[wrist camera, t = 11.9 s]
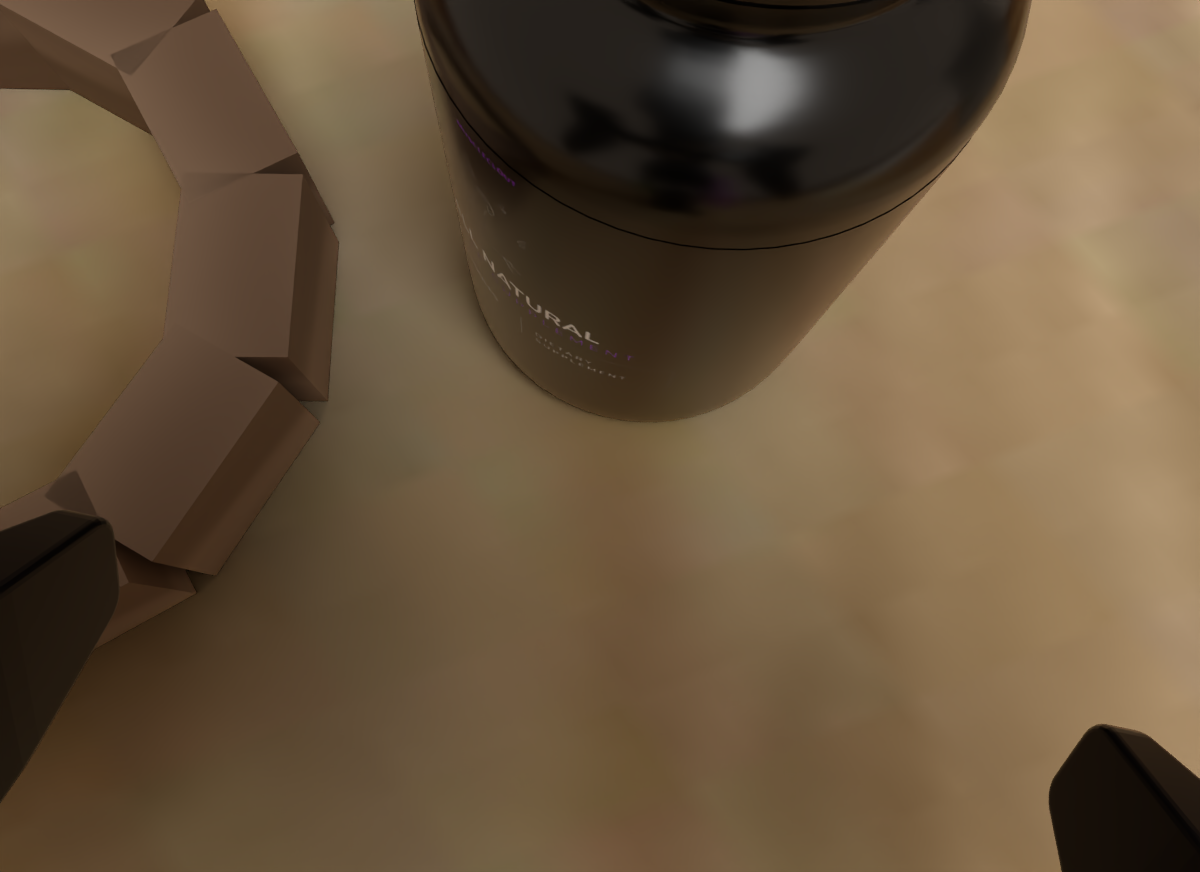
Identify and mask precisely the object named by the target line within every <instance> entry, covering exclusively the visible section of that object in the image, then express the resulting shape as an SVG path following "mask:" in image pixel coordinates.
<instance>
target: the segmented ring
mask: <svg viewBox="0 0 1200 872" xmlns="http://www.w3.org/2000/svg"><path fill="white" fill-rule="evenodd" d="M0 88H29V89H70V90H72V91H74V92H75V93H77V94H79V95H81V96H83V97H85V98H86V99H88V100H90V101H92V102H94V103H95V104H97V105H99V106H101V107H103V108H104V109H106V110H108V111H110V112H112V113H113V114H115V115H117V116H119V117H121V118H122V119H124V120H126V121H128V122H130V123H131V124H133V125H135V126H137V127H139V128H141V129H142V130H144V131H146V132H148V133H150V134H151V135H153V137H154V139H155V140H156V142H157V144H158V146H159V148H160V150H161V152H162V154H163V156H164V157H165V159H166V161H167V163H168V165H169V167H170V169H171V171H172V173H173V174H174V176H175V178H176V180H177V182H178V184H179V186H180V188H181V194H180V202H179V210H178V219H177V227H176V235H175V244H174V252H173V260H172V269H171V277H170V285H169V293H168V302H167V310H166V318H165V327H164V335H163V339H162V340H161V342H160V343H159V344H158V346H157V347H156V348H155V350H154V351H153V352H152V354H151V355H150V356H149V358H148V359H147V360H146V362H145V363H144V364H143V365H142V367H141V368H140V369H139V371H138V372H137V373H136V375H135V376H134V377H133V379H132V380H131V381H130V383H129V384H128V385H127V387H126V388H125V389H124V391H123V392H122V393H121V395H120V396H119V397H118V399H117V400H116V401H115V403H114V404H113V405H112V407H111V408H110V409H109V411H108V412H107V413H106V415H105V416H104V417H103V419H102V420H101V421H100V423H99V424H98V425H97V427H96V428H95V429H94V431H93V432H92V433H91V435H90V436H89V437H88V439H87V440H86V441H85V443H84V444H83V445H82V447H81V448H80V449H79V451H78V452H77V453H76V455H75V456H74V457H73V459H72V460H71V461H70V463H69V464H68V465H67V467H66V468H65V469H64V471H63V472H62V473H61V474H60V476H59V477H58V478H57V480H55V481H53V482H51V483H49V484H47V485H45V486H43V487H41V488H39V489H37V490H35V491H33V492H31V493H29V494H27V495H25V496H23V497H21V498H19V499H17V500H15V501H13V502H11V503H10V504H8V505H6V506H4V507H2V508H0V531H1V530H4V529H6V528H9V527H12V526H14V525H17V524H20V523H23V522H25V521H28V520H31V519H33V518H36V517H39V516H41V515H44V514H47V513H49V512H53V511H56V510H71V511H75V512H80V513H85V514H90V515H95V516H100V517H103V518H104V519H106V520H108V521H109V522H110V524H111V526H112V527H113V531H114V536H115V546H116V555H117V565H118V574H119V583H120V594H119V600H118V604H117V607H116V610H115V612H114V615H113V616H112V618H111V620H110V622H109V624H108V625H107V627H106V629H105V631H104V632H103V634H102V636H101V638H100V639H99V641H98V643H97V645H96V646H95V648H94V649H96V648H98V647H99V646H101V645H103V644H105V643H107V642H109V641H110V640H112V639H114V638H116V637H118V636H120V635H121V634H123V633H125V632H127V631H129V630H130V629H132V628H134V627H136V626H138V625H140V624H141V623H143V622H145V621H147V620H149V619H151V618H152V617H154V616H156V615H158V614H160V613H162V612H163V611H165V610H167V609H169V608H171V607H172V606H174V605H176V604H178V603H180V602H182V601H183V600H185V599H187V598H189V597H191V596H193V595H194V594H196V591H195V589H194V587H193V585H192V583H191V581H190V579H189V577H188V574H187V572H186V570H185V569H188V570H192V571H197V572H201V573H206V574H210V575H215V576H216V575H217V573H218V572H219V570H220V569H221V568H222V566H223V565H224V563H225V562H226V560H227V559H228V557H229V556H230V554H231V553H232V551H233V550H234V548H235V547H236V545H237V544H238V543H239V541H240V540H241V538H242V537H243V535H244V534H245V532H246V531H247V529H248V528H249V526H250V525H251V523H252V522H253V520H254V519H255V517H256V516H257V515H258V513H259V512H260V510H261V509H262V507H263V506H264V504H265V503H266V501H267V500H268V498H269V497H270V495H271V494H272V492H273V491H274V490H275V488H276V487H277V485H278V484H279V482H280V481H281V479H282V478H283V476H284V475H285V473H286V472H287V470H288V469H289V467H290V466H291V464H292V463H293V462H294V460H295V459H296V457H297V456H298V454H299V453H300V451H301V450H302V448H303V447H304V445H305V444H306V442H307V441H308V439H309V438H310V437H311V435H312V434H313V432H314V431H315V429H316V428H317V426H318V425H319V423H320V422H319V421H318V420H317V419H316V418H315V417H314V416H313V415H312V414H311V413H310V412H309V411H308V410H307V409H306V408H305V407H304V406H303V405H302V404H301V403H300V402H299V401H328V389H329V375H330V361H331V346H332V332H333V318H334V303H335V289H336V274H337V260H338V246H339V242H338V240H337V238H336V236H335V234H334V232H333V230H332V228H331V227H330V225H331V224H333V223H334V221H333V219H332V217H331V215H330V213H329V211H328V210H327V208H326V206H325V204H324V202H323V200H322V198H321V196H320V194H319V192H318V190H317V188H316V186H315V184H314V182H313V181H312V179H311V177H310V175H309V173H308V171H307V169H306V167H305V165H304V163H303V161H302V159H301V157H300V155H299V153H298V152H297V150H296V148H295V146H294V145H293V143H292V141H291V139H290V138H289V136H288V134H287V132H286V131H285V129H284V127H283V125H282V123H281V122H280V120H279V118H278V116H277V115H276V113H275V111H274V109H273V108H272V106H271V104H270V102H269V101H268V99H267V97H266V95H265V94H264V92H263V90H262V88H261V87H260V85H259V83H258V81H257V80H256V78H255V76H254V74H253V73H252V71H251V69H250V67H249V65H248V64H247V62H246V60H245V58H244V57H243V55H242V53H241V51H240V50H239V48H238V46H237V44H236V43H235V41H234V39H233V37H232V36H231V34H230V32H229V30H228V29H227V27H226V25H225V23H224V22H223V20H222V18H221V16H220V14H219V13H218V11H217V9H215V10H213V11H211V12H210V10H209V9H208V7H207V5H206V3H205V1H204V0H0Z"/></svg>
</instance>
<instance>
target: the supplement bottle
mask: <svg viewBox="0 0 1200 872" xmlns="http://www.w3.org/2000/svg"><path fill="white" fill-rule="evenodd" d="M1031 1H1032V0H414V3H415V9H416V14H417V20H418V25H419V31H420V36H421V41H422V46H423V51H424V55H425V60H426V65H427V70H428V75H429V79H430V84H431V89H432V94H433V99H434V103H435V108H436V113H437V118H438V123H439V127H440V132H441V137H442V142H443V147H444V151H445V156H446V161H447V166H448V170H449V175H450V180H451V185H452V190H453V194H454V199H455V204H456V209H457V214H458V218H459V223H460V228H461V233H462V237H463V242H464V247H465V252H466V257H467V261H468V266H469V270H470V273H471V278H472V282H473V286H474V289H475V293H476V296H477V300H478V303H479V305H480V308H481V310H482V313H483V315H484V317H485V320H486V322H487V324H488V326H489V328H490V329H491V331H492V333H493V335H494V337H495V338H496V340H497V341H498V343H499V344H500V346H501V347H502V349H503V350H504V352H505V353H506V354H507V355H508V356H509V358H510V359H511V360H512V361H513V362H514V364H515V365H516V366H517V367H518V368H519V369H520V370H522V371H523V372H524V373H525V374H526V375H527V376H528V377H529V378H530V379H531V380H533V381H534V382H535V383H536V384H538V385H539V386H540V387H542V388H543V389H545V390H546V391H548V392H549V393H551V394H552V395H554V396H555V397H557V398H559V399H561V400H563V401H565V402H567V403H569V404H570V405H573V406H575V407H578V408H580V409H583V410H585V411H588V412H591V413H594V414H597V415H601V416H604V417H609V418H614V419H619V420H626V421H636V422H662V421H673V420H679V419H684V418H690V417H694V416H697V415H701V414H704V413H707V412H710V411H712V410H715V409H717V408H720V407H722V406H724V405H726V404H728V403H730V402H732V401H734V400H736V399H738V398H739V397H741V396H742V395H744V394H745V393H747V392H748V391H750V390H751V389H753V388H754V387H755V386H757V385H758V384H759V383H760V382H762V381H763V380H764V379H765V378H766V377H768V376H769V375H770V374H771V373H772V372H773V371H774V370H775V369H776V368H777V367H778V366H779V365H780V364H781V362H782V361H783V360H784V359H785V358H786V357H787V356H788V355H789V354H790V353H791V352H792V351H793V350H794V348H795V347H796V346H797V345H798V344H799V343H800V341H801V340H802V339H803V338H804V337H805V335H806V334H807V333H808V332H809V331H810V330H811V328H812V327H813V326H814V325H815V324H816V323H817V321H818V320H819V319H820V318H821V317H822V315H823V314H824V313H825V312H826V311H827V310H828V308H829V307H830V306H831V305H832V304H833V303H834V301H835V300H836V299H837V298H838V297H839V295H840V294H841V293H842V292H843V291H844V290H845V288H846V287H847V286H848V285H849V284H850V283H851V281H852V280H853V279H854V278H855V277H856V275H857V274H858V273H859V272H860V271H861V270H862V268H863V267H864V266H865V265H866V264H867V263H868V261H869V260H870V259H871V258H872V257H873V255H874V254H875V253H876V252H877V251H878V250H879V248H880V247H881V246H882V245H883V244H884V242H885V241H886V240H887V239H888V238H889V237H890V235H891V234H892V233H893V232H894V231H895V230H896V228H897V227H898V226H899V225H900V224H901V222H902V221H903V220H904V219H905V218H906V217H907V215H908V214H909V213H910V212H911V211H912V210H913V208H914V207H915V206H916V205H917V204H918V202H919V201H920V200H921V199H922V198H923V197H924V195H925V194H926V193H927V192H928V191H929V189H930V188H931V187H932V186H933V185H934V184H935V182H936V181H937V180H938V179H939V178H940V176H941V175H942V174H943V173H944V172H945V171H946V169H947V168H948V167H949V166H950V164H951V163H952V162H953V161H954V159H955V158H956V157H957V156H958V155H959V153H960V152H961V151H962V150H963V148H964V147H965V146H966V145H967V143H968V142H969V141H970V139H971V137H972V136H973V135H974V133H975V132H976V131H977V130H978V128H979V127H980V126H981V124H982V123H983V121H984V120H985V118H986V117H987V116H988V114H989V112H990V111H991V109H992V108H993V106H994V104H995V103H996V101H997V100H998V98H999V96H1000V95H1001V93H1002V91H1003V89H1004V87H1005V85H1006V83H1007V81H1008V78H1009V76H1010V74H1011V72H1012V70H1013V68H1014V65H1015V63H1016V60H1017V57H1018V54H1019V51H1020V48H1021V45H1022V42H1023V39H1024V36H1025V31H1026V26H1027V21H1028V17H1029V12H1030V7H1031Z"/></svg>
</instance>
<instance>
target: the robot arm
mask: <svg viewBox="0 0 1200 872" xmlns="http://www.w3.org/2000/svg"><path fill="white" fill-rule="evenodd" d="M119 594H120V583H119V574H118V565H117V555H116V546H115V536H114V531H113V527H112V526H111V524H110V522H109V521H108V520H106V519H104V518H103V517H100V516H95V515H90V514H85V513H80V512H75V511H71V510H56V511H53V512H49V513H47V514H44V515H41V516H39V517H36V518H33V519H31V520H28V521H25V522H23V523H20V524H17V525H14V526H12V527H9V528H6V529H4V530H1V531H0V803H1V801H2V800H3V799H4V797H5V796H6V794H7V793H8V791H9V790H10V788H11V787H12V786H13V784H14V783H15V781H16V780H17V778H18V777H19V775H20V774H21V772H22V771H23V770H24V768H25V766H26V765H27V763H28V762H29V760H30V758H31V757H32V755H33V753H34V752H35V750H36V748H37V747H38V745H39V744H40V742H41V740H42V738H43V737H44V735H45V733H46V731H47V730H48V728H49V726H50V725H51V723H52V721H53V719H54V718H55V716H56V714H57V712H58V711H59V709H60V707H61V705H62V704H63V702H64V700H65V698H66V697H67V695H68V693H69V691H70V690H71V688H72V686H73V685H74V683H75V681H76V679H77V678H78V676H79V674H80V672H81V671H82V669H83V667H84V665H85V664H86V662H87V660H88V658H89V657H90V655H91V653H92V652H93V650H94V648H95V646H96V645H97V643H98V641H99V639H100V638H101V636H102V634H103V632H104V631H105V629H106V627H107V625H108V624H109V622H110V620H111V618H112V616H113V615H114V612H115V610H116V607H117V604H118V600H119ZM1049 809H1050V814H1051V819H1052V825H1053V830H1054V835H1055V840H1056V845H1057V850H1058V855H1059V860H1060V865H1061V870H1062V872H1200V779H1199V778H1198V777H1197V776H1196V775H1195V774H1193V773H1192V772H1191V771H1190V770H1189V769H1188V768H1186V767H1185V766H1184V765H1183V764H1182V763H1180V762H1179V761H1178V760H1177V759H1176V758H1175V757H1173V756H1172V755H1171V754H1170V753H1169V752H1167V751H1166V750H1165V749H1164V748H1163V747H1162V746H1160V745H1159V744H1158V743H1157V742H1156V741H1154V740H1153V739H1152V738H1151V737H1149V736H1148V735H1146V734H1144V733H1142V732H1139V731H1136V730H1131V729H1126V728H1122V727H1117V726H1112V725H1107V724H1098V725H1095V726H1093V727H1092V728H1090V729H1088V730H1087V732H1086V733H1085V734H1084V735H1083V737H1082V738H1081V740H1080V741H1079V742H1078V744H1077V745H1076V747H1075V748H1074V749H1073V751H1072V752H1071V754H1070V755H1069V757H1068V758H1067V759H1066V761H1065V762H1064V764H1063V765H1062V766H1061V768H1060V769H1059V771H1058V772H1057V774H1056V775H1055V777H1054V778H1053V780H1052V783H1051V786H1050V791H1049Z"/></svg>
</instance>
